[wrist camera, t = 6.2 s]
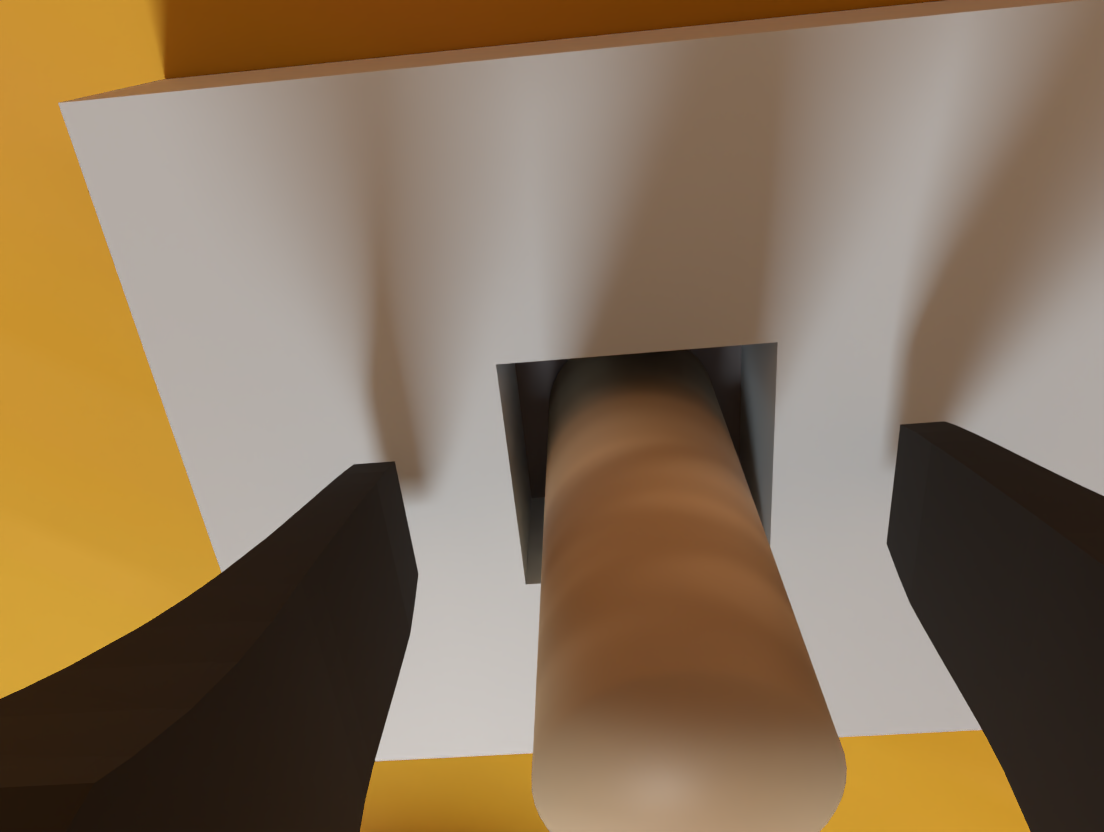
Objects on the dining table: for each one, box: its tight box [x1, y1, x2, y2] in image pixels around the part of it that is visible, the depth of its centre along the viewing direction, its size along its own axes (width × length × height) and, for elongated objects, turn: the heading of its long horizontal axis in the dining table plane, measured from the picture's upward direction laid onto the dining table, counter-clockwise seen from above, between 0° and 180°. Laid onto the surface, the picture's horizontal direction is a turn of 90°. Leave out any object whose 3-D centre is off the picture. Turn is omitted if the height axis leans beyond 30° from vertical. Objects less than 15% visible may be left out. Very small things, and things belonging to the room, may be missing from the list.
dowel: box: [532, 349, 847, 832], centre depth 11 cm, size 3×3×8 cm
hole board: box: [58, 0, 1104, 761], centre depth 14 cm, size 16×12×3 cm
